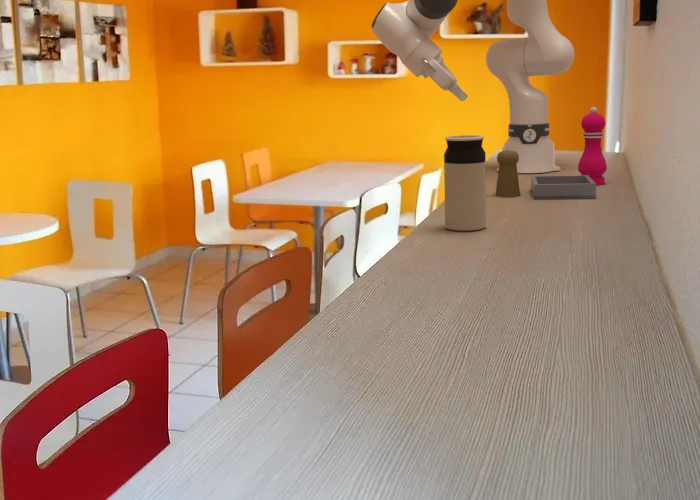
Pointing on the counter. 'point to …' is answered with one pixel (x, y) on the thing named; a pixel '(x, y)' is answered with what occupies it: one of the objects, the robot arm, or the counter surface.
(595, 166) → the pepper mill
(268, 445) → the counter surface
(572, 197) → the tray
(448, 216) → the travel mug
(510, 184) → the brown pawn
